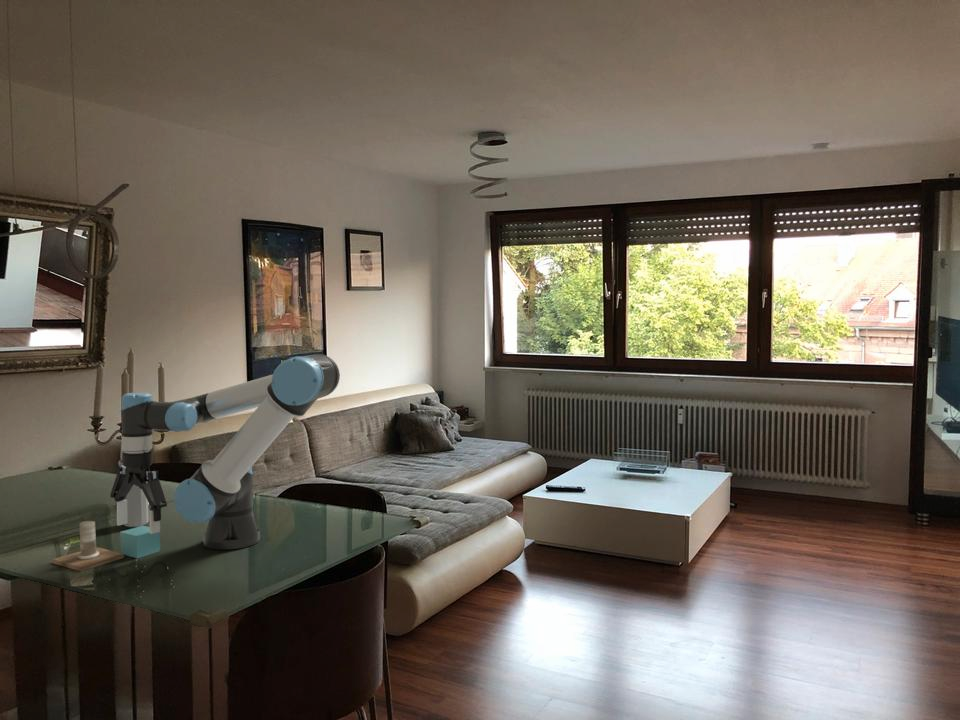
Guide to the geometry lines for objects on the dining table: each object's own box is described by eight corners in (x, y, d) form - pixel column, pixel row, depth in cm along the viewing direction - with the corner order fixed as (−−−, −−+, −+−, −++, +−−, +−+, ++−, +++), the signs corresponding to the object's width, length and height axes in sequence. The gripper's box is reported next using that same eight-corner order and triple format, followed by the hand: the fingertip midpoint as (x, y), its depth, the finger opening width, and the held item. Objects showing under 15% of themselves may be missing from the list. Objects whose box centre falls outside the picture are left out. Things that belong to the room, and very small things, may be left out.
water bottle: (141, 519, 237) (139, 440, 235) (154, 524, 232) (151, 443, 230) (111, 526, 229) (109, 444, 228) (124, 531, 224) (121, 447, 223)
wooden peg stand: (123, 557, 201) (122, 520, 201) (80, 571, 191) (79, 532, 190) (95, 550, 207) (94, 514, 206) (52, 563, 197) (51, 525, 196)
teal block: (160, 550, 207) (159, 529, 206) (137, 558, 201) (136, 536, 200) (143, 546, 210) (142, 525, 210) (120, 553, 204) (119, 532, 204)
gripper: (180, 453, 201) (181, 532, 202) (120, 443, 213) (121, 517, 215) (155, 458, 194) (156, 540, 196) (95, 447, 206) (96, 524, 208)
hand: (138, 528), depth 205 cm, fingers open, 13 cm apart
